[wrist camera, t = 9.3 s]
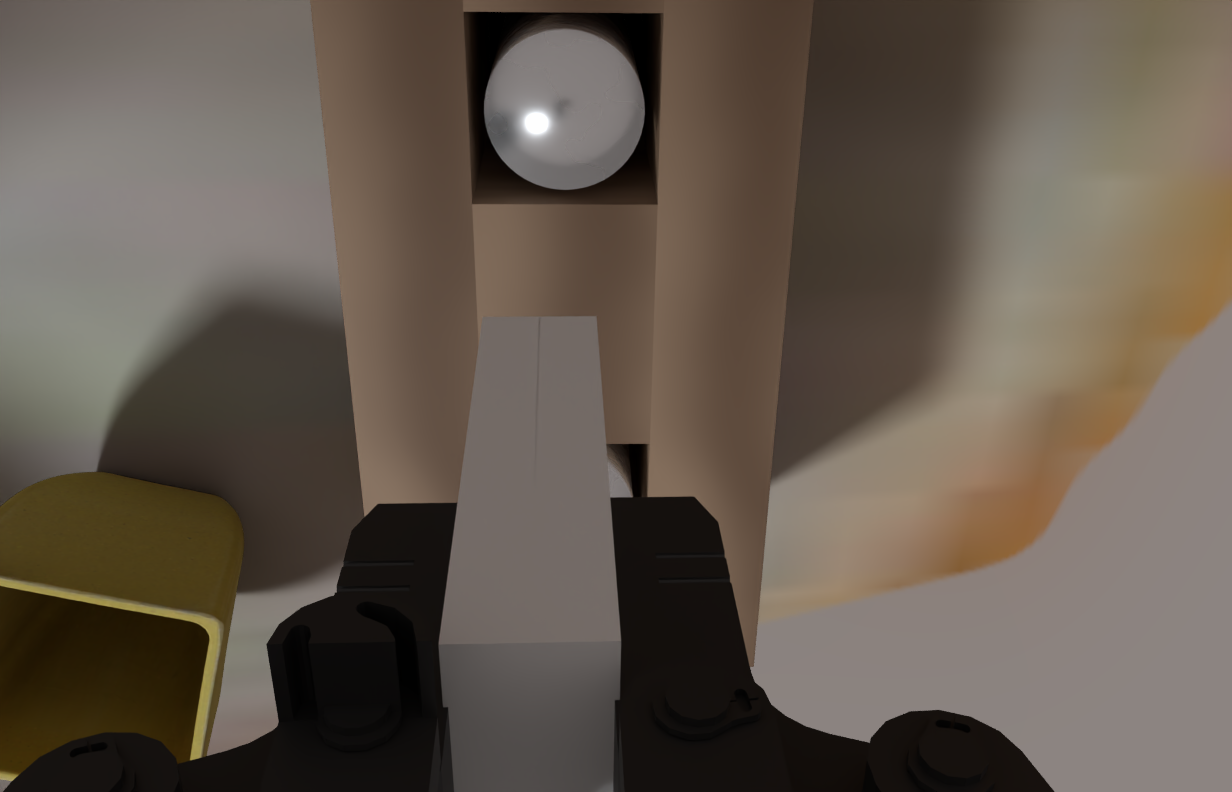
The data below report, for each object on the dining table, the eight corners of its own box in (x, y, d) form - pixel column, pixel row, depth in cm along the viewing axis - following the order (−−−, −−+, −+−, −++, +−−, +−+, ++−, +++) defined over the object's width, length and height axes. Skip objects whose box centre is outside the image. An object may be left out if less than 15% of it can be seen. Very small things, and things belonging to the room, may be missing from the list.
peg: (504, 101, 38) (486, 189, 30) (500, -29, 36) (480, 29, 28) (627, 102, 38) (642, 189, 30) (629, -27, 36) (647, 30, 28)
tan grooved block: (413, 513, 45) (380, 671, 37) (357, -175, 34) (293, -158, 26) (721, 511, 46) (753, 666, 38) (767, -169, 34) (827, -150, 27)
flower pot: (254, 644, 48) (192, 816, 40) (33, 601, 47) (-76, 771, 39) (286, 467, 44) (225, 619, 36) (46, 415, 43) (-73, 562, 35)
